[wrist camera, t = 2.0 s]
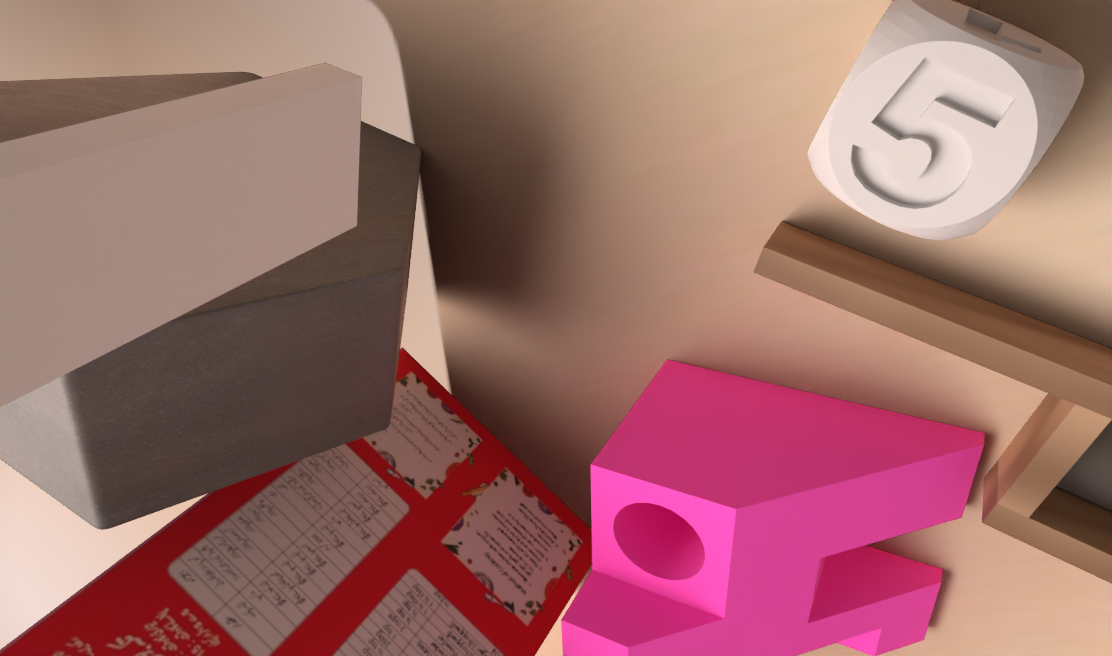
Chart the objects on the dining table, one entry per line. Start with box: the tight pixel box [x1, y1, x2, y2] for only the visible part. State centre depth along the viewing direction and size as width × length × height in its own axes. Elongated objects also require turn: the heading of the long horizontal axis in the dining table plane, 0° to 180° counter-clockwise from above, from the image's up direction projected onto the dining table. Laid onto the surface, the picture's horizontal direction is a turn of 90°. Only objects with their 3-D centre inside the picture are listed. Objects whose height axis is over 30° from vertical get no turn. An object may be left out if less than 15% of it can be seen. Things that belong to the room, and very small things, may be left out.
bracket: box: [561, 360, 985, 656], centre depth 28 cm, size 12×10×10 cm
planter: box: [0, 72, 421, 529], centre depth 30 cm, size 17×8×21 cm
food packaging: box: [0, 348, 592, 656], centre depth 31 cm, size 15×5×25 cm, turn 54°
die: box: [807, 0, 1084, 240], centre depth 21 cm, size 5×5×5 cm
